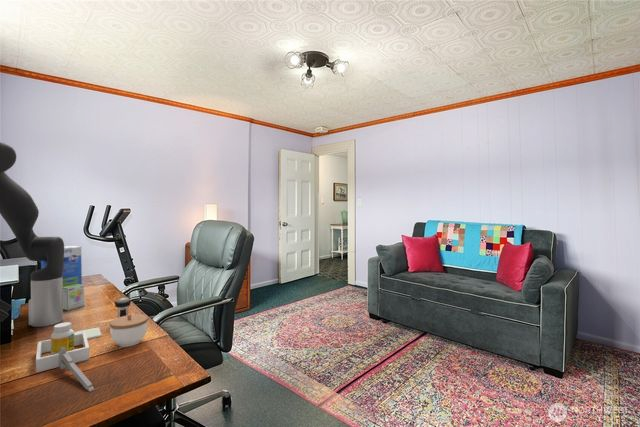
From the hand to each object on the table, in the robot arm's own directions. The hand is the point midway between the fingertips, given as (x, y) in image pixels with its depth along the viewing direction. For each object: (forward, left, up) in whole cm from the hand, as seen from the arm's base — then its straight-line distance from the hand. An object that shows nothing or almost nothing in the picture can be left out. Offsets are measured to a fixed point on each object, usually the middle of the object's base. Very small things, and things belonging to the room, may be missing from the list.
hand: (7, 314), depth 86 cm
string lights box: (-39, +57, -16) cm, 70 cm away
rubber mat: (+2, +23, -15) cm, 28 cm away
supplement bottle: (+8, +8, -16) cm, 19 cm away
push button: (+8, +33, -16) cm, 37 cm away
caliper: (+22, -3, -16) cm, 27 cm away
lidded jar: (+22, +19, -16) cm, 33 cm away
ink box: (-27, +50, -16) cm, 59 cm away
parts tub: (+8, +8, -15) cm, 19 cm away
